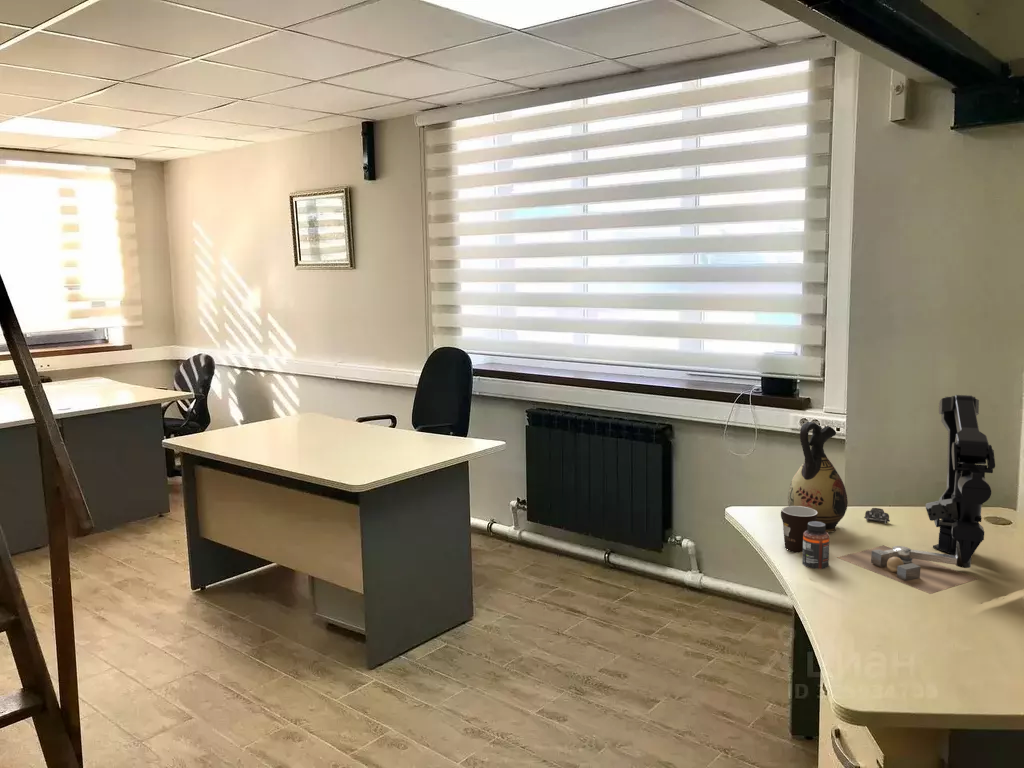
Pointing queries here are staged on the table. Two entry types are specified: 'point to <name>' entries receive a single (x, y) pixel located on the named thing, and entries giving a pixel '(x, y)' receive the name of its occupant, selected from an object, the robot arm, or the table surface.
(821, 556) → the supplement bottle
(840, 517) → the ceramic jug
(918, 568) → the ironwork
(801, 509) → the coffee mug
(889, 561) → the tan ball
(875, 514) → the car cutout
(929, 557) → the lever
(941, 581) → the board
